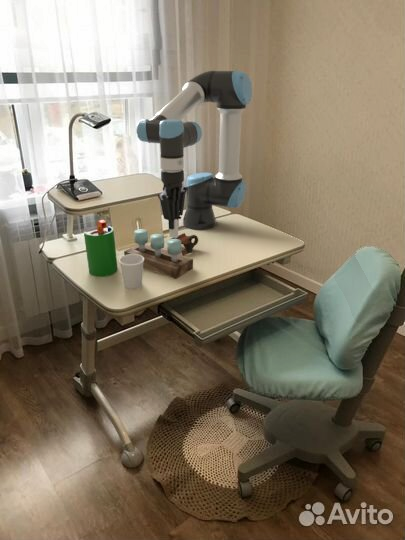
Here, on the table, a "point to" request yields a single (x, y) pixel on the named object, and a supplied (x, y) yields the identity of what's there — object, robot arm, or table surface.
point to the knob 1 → (141, 238)
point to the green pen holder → (101, 251)
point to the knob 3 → (174, 249)
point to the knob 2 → (157, 243)
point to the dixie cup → (132, 270)
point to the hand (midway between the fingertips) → (173, 236)
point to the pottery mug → (187, 243)
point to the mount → (163, 262)
